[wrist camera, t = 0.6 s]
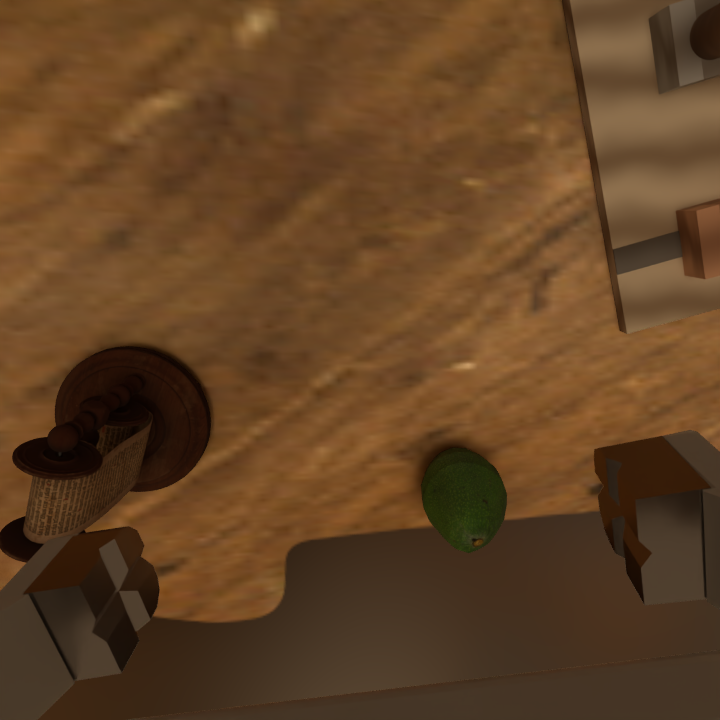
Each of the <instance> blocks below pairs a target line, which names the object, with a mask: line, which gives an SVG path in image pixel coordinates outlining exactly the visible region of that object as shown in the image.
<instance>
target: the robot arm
mask: <svg viewBox="0 0 720 720" xmlns="http://www.w3.org/2000/svg"><path fill="white" fill-rule="evenodd" d="M594 466H595V473H596V474H597V476H598V478H599V479H600V481H601V482H602V484H603V486H604V487H603V488H602V490H601V491H600V493H599V495H598V501H599V508H600V514H601V518H602V522H603V526H604V530H605V532H606V535H607V537H608V540H609V542H610V544H611V546H612V548H613V550H614V552H615V553H616V554H618V555H619V556H621V557H623V558H625V564H626V572H627V575H628V577H629V579H630V580H631V582H632V584H633V586H634V587H635V589H636V591H637V593H638V594H639V596H640V598H641V600H642V601H643V603H644V605H652V604H662V603H671V602H680V601H691V600H701V599H707V602H709V603H710V604H712V605H713V606H715V607H716V608H718V609H719V610H720V452H719V451H718V450H717V449H716V448H715V447H714V446H713V445H712V444H710V443H709V442H708V441H707V440H706V439H705V438H704V437H703V436H701V435H700V434H699V433H698V432H696V431H692V430H688V431H683V432H678V433H674V434H669V435H664V436H659V437H653V438H648V439H643V440H638V441H633V442H627V443H622V444H617V445H612V446H607V447H602V448H597V449H594ZM143 548H144V544H143V541H142V539H141V537H140V535H139V533H138V531H137V530H135V529H133V528H131V527H129V526H128V527H121V528H114V529H107V530H101V531H94V532H87V533H81V534H72V535H67V536H62V537H57V538H54V539H50V540H48V541H47V542H46V543H45V544H44V545H43V546H42V547H41V548H40V549H39V550H38V551H37V552H36V554H35V555H34V556H33V557H32V558H31V559H30V560H29V561H28V562H27V563H26V564H25V565H24V566H23V567H22V568H21V570H20V571H19V572H18V573H17V574H16V575H15V576H14V577H13V578H12V579H11V580H10V581H9V582H8V583H7V585H6V586H5V587H4V588H3V589H2V590H1V591H0V720H37V719H39V718H40V717H41V716H42V715H43V714H44V713H45V712H46V711H47V710H48V709H49V708H50V707H51V706H52V705H53V704H54V703H55V702H56V701H57V700H58V699H59V698H60V697H61V696H62V695H63V694H64V693H65V692H66V691H67V690H68V689H69V688H70V687H71V686H72V685H73V684H74V681H76V680H82V679H89V678H95V677H101V676H107V675H113V674H119V673H122V671H123V670H124V668H125V666H126V664H127V662H128V660H129V658H130V656H131V655H132V653H133V651H134V649H135V647H136V646H137V644H138V642H139V637H138V634H137V631H138V630H139V629H140V628H141V627H142V626H144V625H145V624H146V623H147V622H148V621H150V619H151V618H152V616H153V614H154V612H155V610H156V608H157V604H158V597H159V583H158V577H157V574H156V572H155V569H154V567H153V565H152V564H150V563H149V562H148V561H146V560H145V559H143V558H142V557H141V554H142V551H143ZM129 720H720V650H717V651H707V652H699V653H691V654H682V655H674V656H665V657H656V658H648V659H640V660H631V661H623V662H614V663H607V664H597V665H589V666H580V667H571V668H563V669H555V670H546V671H538V672H530V673H521V674H513V675H504V676H495V677H487V678H478V679H470V680H462V681H453V682H445V683H436V684H428V685H419V686H411V687H402V688H394V689H385V690H376V691H368V692H359V693H351V694H343V695H334V696H326V697H317V698H308V699H300V700H291V701H283V702H274V703H265V704H257V705H248V706H240V707H231V708H223V709H214V710H206V711H197V712H189V713H181V714H172V715H163V716H155V717H146V718H137V719H129Z"/></svg>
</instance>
